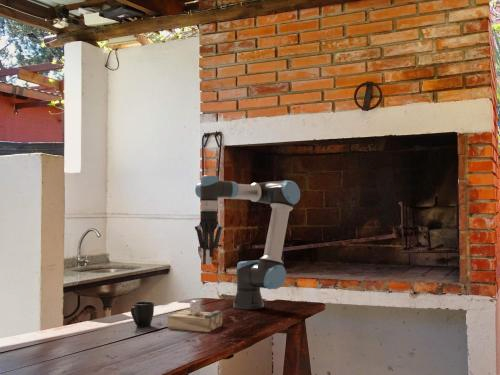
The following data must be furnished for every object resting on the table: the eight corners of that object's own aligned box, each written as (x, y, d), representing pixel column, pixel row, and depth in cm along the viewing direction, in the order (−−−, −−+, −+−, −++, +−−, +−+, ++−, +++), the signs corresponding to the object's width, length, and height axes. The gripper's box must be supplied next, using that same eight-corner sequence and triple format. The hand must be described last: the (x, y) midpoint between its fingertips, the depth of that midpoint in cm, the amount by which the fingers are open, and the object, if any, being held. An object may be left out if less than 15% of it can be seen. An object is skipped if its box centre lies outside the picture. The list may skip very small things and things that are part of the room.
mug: (123, 328, 225) (123, 304, 226) (142, 323, 236) (142, 300, 236) (139, 330, 221) (139, 306, 222) (157, 325, 232) (157, 302, 232)
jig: (183, 322, 239) (183, 307, 239) (222, 325, 233) (222, 310, 233) (167, 328, 226) (167, 313, 226) (208, 331, 219) (208, 315, 220)
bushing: (192, 321, 232) (192, 300, 233) (202, 322, 231) (202, 300, 231) (188, 323, 228) (188, 301, 228) (198, 324, 226) (198, 301, 227)
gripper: (191, 210, 242) (191, 264, 241) (219, 210, 238) (219, 265, 237) (199, 210, 249) (198, 263, 248) (226, 210, 245) (225, 264, 244)
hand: (208, 264), depth 242 cm, fingers closed
